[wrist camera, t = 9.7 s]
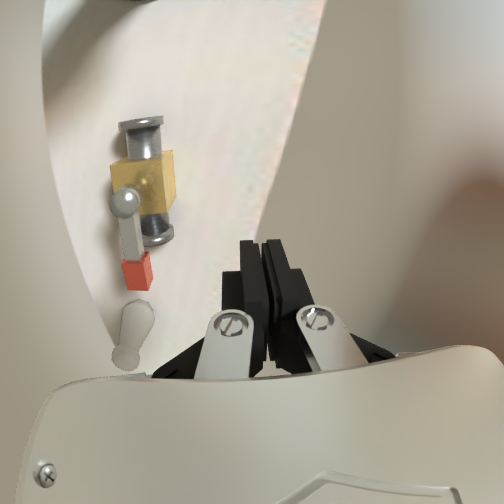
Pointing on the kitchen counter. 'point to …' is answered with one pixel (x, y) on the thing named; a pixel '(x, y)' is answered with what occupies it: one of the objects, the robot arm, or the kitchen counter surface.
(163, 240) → the valve pipe
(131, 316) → the salt shaker
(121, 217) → the valve lever
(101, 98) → the kitchen counter surface
